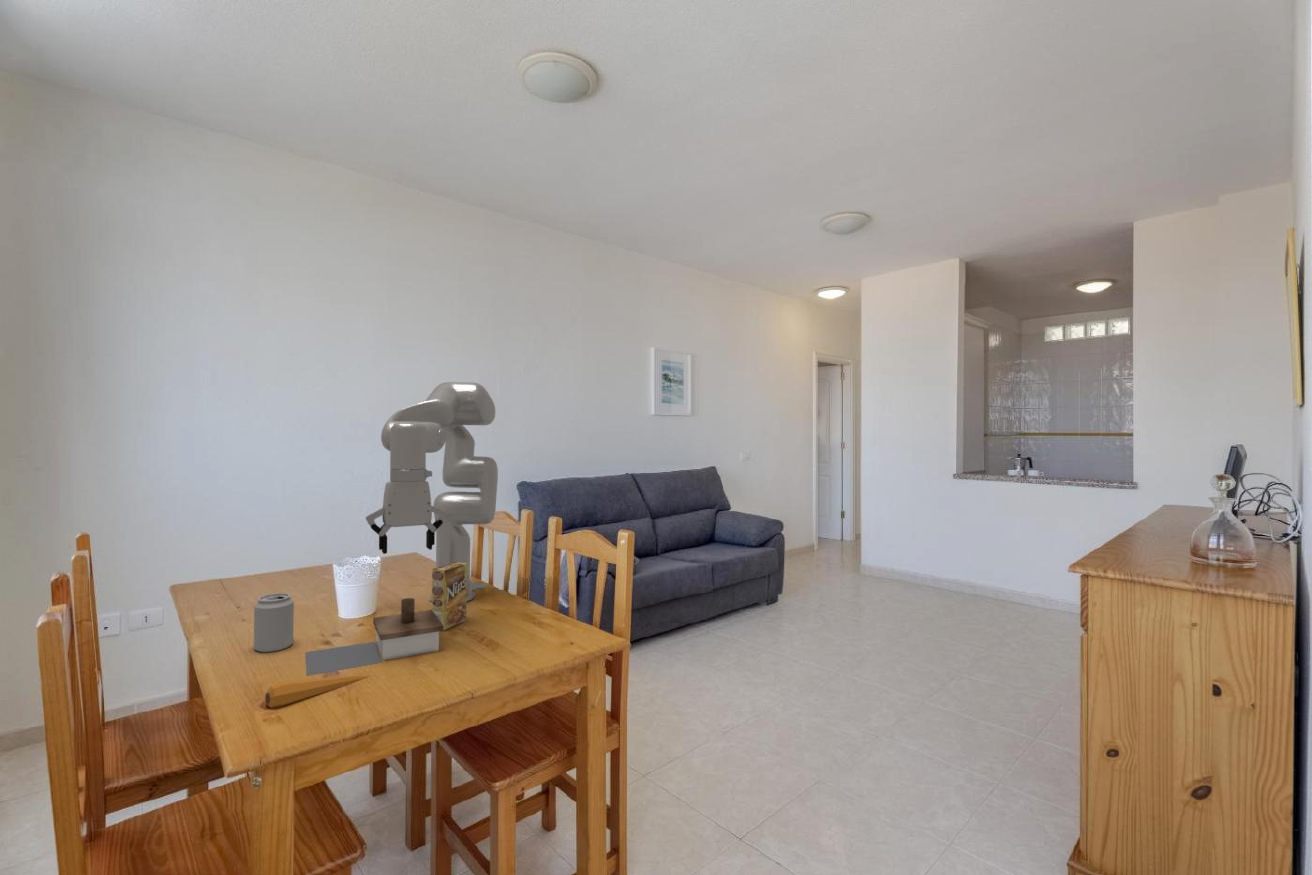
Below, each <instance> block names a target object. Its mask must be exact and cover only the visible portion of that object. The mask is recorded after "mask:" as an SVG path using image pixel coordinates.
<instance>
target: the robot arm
mask: <svg viewBox="0 0 1312 875" xmlns="http://www.w3.org/2000/svg"><path fill="white" fill-rule="evenodd" d="M495 417H496V405H495V403H494V400H493V399H492V397H491V395H490V394H489V392H488V390H487V389H486V388H485V387H484V386H483V385H481V384H480V383H477V382H465V381H463V382H462V381H459V382H458V381H447V382H441V383H439V384H438V385H437V386H436V387H435V388H434V389H433V390H432V391H431V393H430V394H429V395H428V396H427V397H426V399H425V400H423V401H421V402H417V403H415V404H412V405H409V406H406V407H404V408H401V409H399V410H397V411H395V412H394V413H393V414H391V416H390V417H389V418H388V420H387V421H386V422H385V424H384V425H383V427H382V430H381V434H380V435H381V436H380V440H381V443H382V447H384V449H385V450H387V451H388V452H390V453H389V454H390V455H389V462H390V463H389V481H388V482H386V483H385V485H384V492H383V502H382V508H380V509H378V510H376V511H374V512H372V513H370V514H368V515H367V516H366V517H365V520H366V522H367V524H368V525H369V526H370V529H371V530H373V531H374V532H375V533H376V534H377V535H378V550H379V551H381V552H382V553H383V555H387V553H388V536H387V533H388V532H389V530H390V529H391V528H399V527H400V528H402V527H404V528H405V527H415V526H416V527H417V526H425V527H426V528H427V531H426V532H425V534H426V539H425V540H426V542H425V545H426V546H425V547H426V548H427V550H433V546H435V544H436V546H435V568H438V567H441V566H444V565H447V564H451V563H453V562H460V563H467V602H469V601H471V600H473V599H475V596H476V593H475V592H476V591H478V590H479V591H480V590H486V589H487V584H486V582H472V581H471V577H470V576H471V574H470V572H471V537H470V535H469V533H468V531H467V529H465V527H464V526H463V525H488V524H490V523H491V524H492V521H493V520H494V518H495V515H496V507H497V491H498V480H499V479H498V478H499V470H498V464H497V462H496V460H495V459H494V458H493V457H489V456H477V455H476V456H475V445H476V441H475V439H474V437H473V435H472V434H471V432H470V431H469V430H468V429H467V428H466V427H465V426H488V425H491V424H492V423H493V422H494V420H495ZM443 447H444V455H443V463H442V464H443V466H442V481H443V484H444V486H447V487H450V488H458V489H460V488H461V489H463V488H464V489H465V488H466V489H479V490H480V491H446V492H441V493H440V494H437V496H436V497H435V499H434V500H433V504H432V498H431V490H430V484H429V483H430V482H428V481H426V480H427V478H429V477H432V476H433V471H432V470H428V469H426V467H427V466H426V459H427V458H426V456H427V455H426V454H433V453H437V452H439V451H440V450H442V448H443ZM433 515H434V522H433V523H432V518H433ZM379 517H382V518H381V519H382V525H381V526H378V525H377V523H376V521H375V520H376V519H378V518H379ZM435 533H436V535H435ZM435 539H436V540H435ZM435 542H436V543H435ZM429 601H430V602H432V593H431V594H430V595H429Z"/></svg>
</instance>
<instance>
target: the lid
mask: <svg viewBox="0 0 1312 875" xmlns="http://www.w3.org/2000/svg"><path fill="white" fill-rule="evenodd" d="M415 603H416V602H415V598H412V597H409V598H408V597H407V598H403V599H401V602H400V612H401V613H398V614H391V615H384V616H382V615H381V616H376V617H373V618H372V624H373V626H374V629H375V631H377V634H378V636H379V639H380V641H381V640H387V639H394V638H400V637H407V636H413V635H419V634H426V633H432V632H439V633H440V632H444V631H443V624H442V623H441V622H440V620H439V619H438V618H437V616H436V615H435V613H434V612H433V611H432V609H427V610H419V611H415V607H416V606H415V605H416V604H415Z"/></svg>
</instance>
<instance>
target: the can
mask: <svg viewBox="0 0 1312 875" xmlns="http://www.w3.org/2000/svg"><path fill="white" fill-rule="evenodd" d="M294 602H295V601H294V600H293V599H292V598H291V594H290V593H286V592H277V593H269V594H265V595H262V596H260V597H258V599H257V602H256V603H255V604H254V607H253V608H254V610H253V618H254V619H253V620H254V621H253V649H254V650H255V651H257V652H259V653H273V652H275V653H276V652H279V651H282V650H283V651H284V650H286V649H287V648H289V647H290V646H291V645H293V643H294V615H295V614H294V608H295V606H294V604H295V603H294Z"/></svg>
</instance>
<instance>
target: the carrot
mask: <svg viewBox="0 0 1312 875" xmlns="http://www.w3.org/2000/svg"><path fill="white" fill-rule="evenodd" d="M371 676H372V675H371V674H369V675H368V674H366V675H365V674H364V675H363V674H362V675H345V676H336V677H326V678H325V677H324V678H315V679H304V680H292V681H291V680H290V681H280V682H277V683H275V684H273V685H270V686H269V688H268V690H267V692H266V694H265V697H264V700H265V703H266V705H267V706H268V707H269V708H270V709H274V708H275V709H276V708H281V707H284V706H287V705H290V704H293V703H296V702H300V701H302V700H305V699H306V700H307V699H309V698H311V697H315V696H317V695H321V694H325V693H326V692H327V693H328V692H330V691H333V690H336V689H339V688H342V687H345V686H348V685H350V684H353V683H356V682H358V681H361V680H364V679H366V678H369V677H371Z"/></svg>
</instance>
